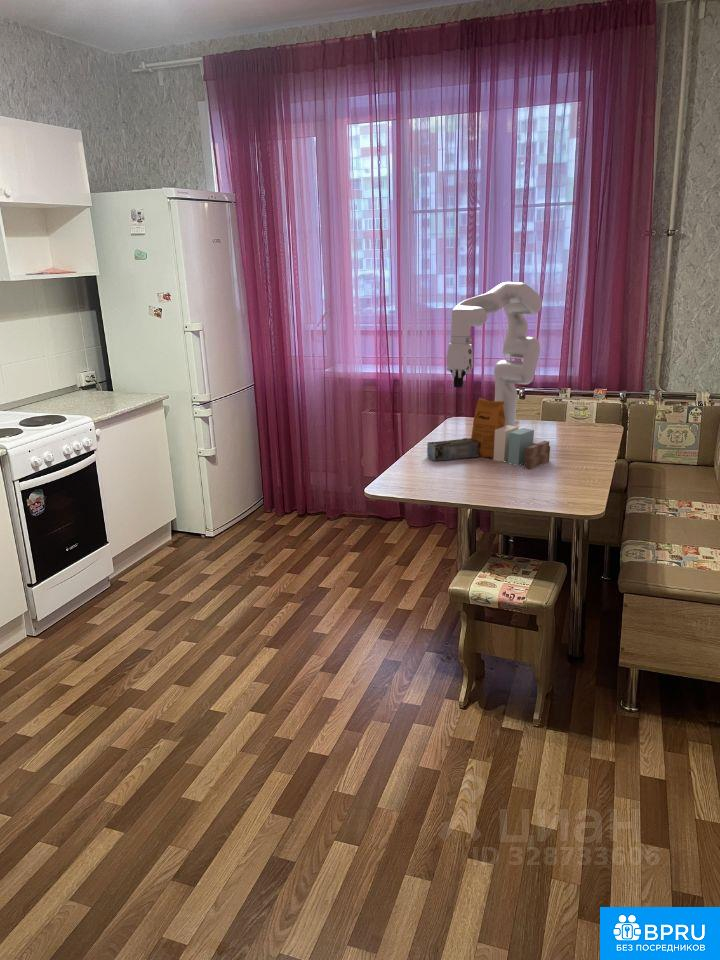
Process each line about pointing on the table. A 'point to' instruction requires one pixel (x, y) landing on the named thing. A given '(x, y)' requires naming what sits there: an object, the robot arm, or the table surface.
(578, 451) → the table surface
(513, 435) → the book teal
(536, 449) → the brown patterned block
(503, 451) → the book cream
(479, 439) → the coffee package
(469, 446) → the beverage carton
